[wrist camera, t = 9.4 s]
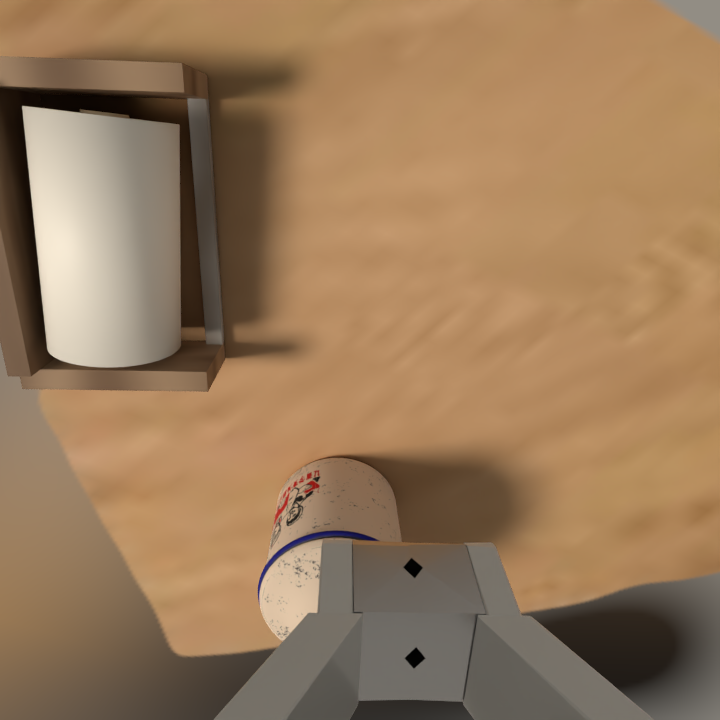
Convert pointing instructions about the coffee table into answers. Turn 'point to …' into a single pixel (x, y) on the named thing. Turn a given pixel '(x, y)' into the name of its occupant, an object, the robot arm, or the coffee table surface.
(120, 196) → the roll
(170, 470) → the coffee table surface
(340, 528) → the teacup with lid
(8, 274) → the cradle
